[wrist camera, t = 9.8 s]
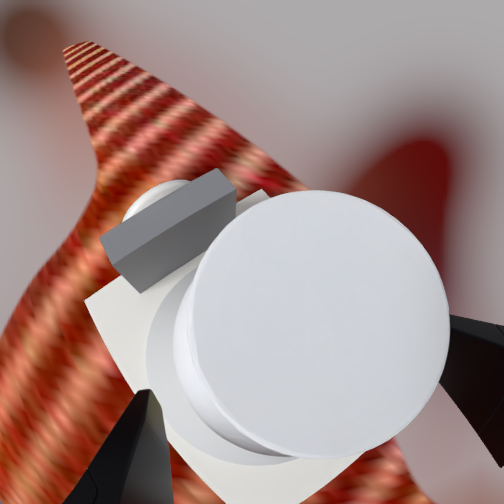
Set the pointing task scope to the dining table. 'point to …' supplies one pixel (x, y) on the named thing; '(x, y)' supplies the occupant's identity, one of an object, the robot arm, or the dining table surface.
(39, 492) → the dining table surface
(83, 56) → the dining table surface
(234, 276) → the supplement bottle
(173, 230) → the kitchen scale
